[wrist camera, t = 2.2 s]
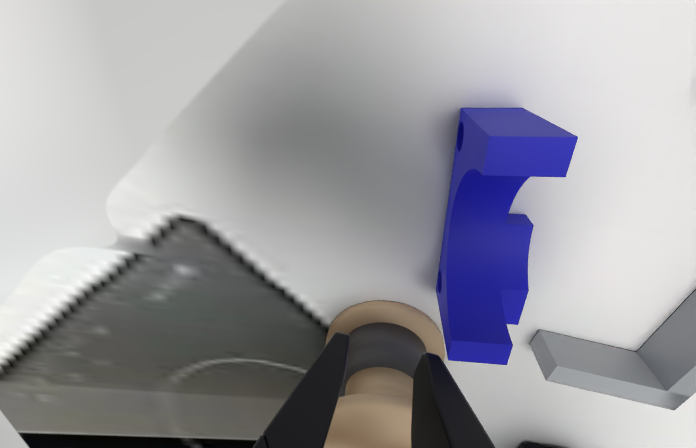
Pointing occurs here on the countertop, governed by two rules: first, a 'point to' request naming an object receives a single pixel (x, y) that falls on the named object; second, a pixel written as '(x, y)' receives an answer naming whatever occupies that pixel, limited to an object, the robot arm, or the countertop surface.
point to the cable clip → (492, 227)
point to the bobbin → (380, 373)
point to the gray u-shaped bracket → (628, 362)
